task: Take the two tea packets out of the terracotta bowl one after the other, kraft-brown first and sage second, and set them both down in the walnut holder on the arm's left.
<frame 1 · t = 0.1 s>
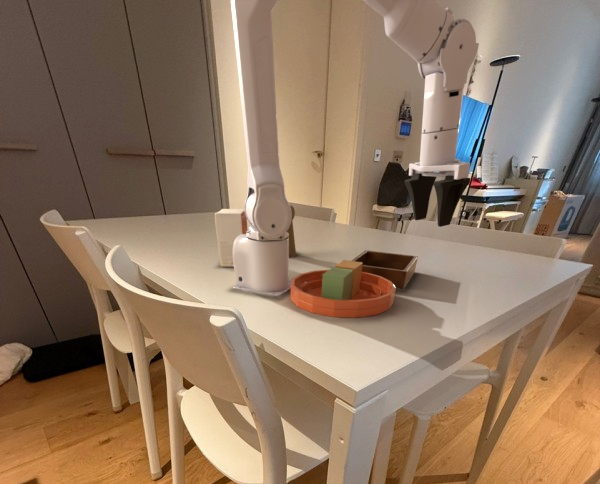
hand: (431, 222, 63), 11 cm above the table, tool pointing down, fingers open, 7 cm apart
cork: (284, 255, 85), on the table
sage packet: (335, 303, 55), resting on bowl
kraft packet: (346, 293, 59), resting on bowl
bowl: (340, 301, 58), on the table
small box: (235, 263, 77), on the table
holder: (381, 278, 69), on the table
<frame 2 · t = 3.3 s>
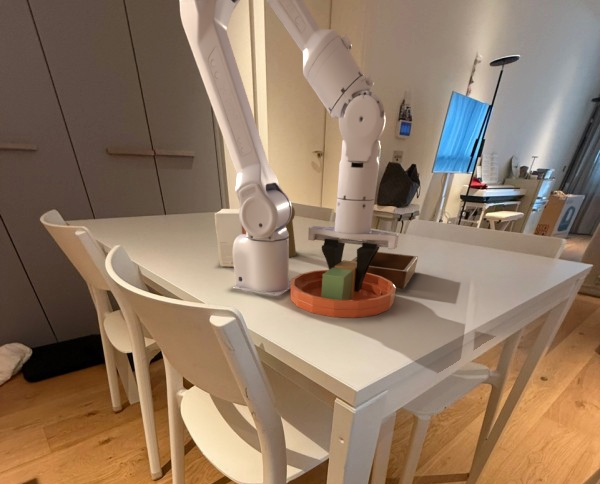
hand: (346, 288, 59), 1 cm above the table, tool pointing down, fingers closed on kraft packet, 3 cm apart
kraft packet: (346, 293, 59), resting on bowl, touching gripper
everything else where it was.
when the fingers open (1 cm above the table, at t = 7.8 s): kraft packet stays where it is, resting on holder.
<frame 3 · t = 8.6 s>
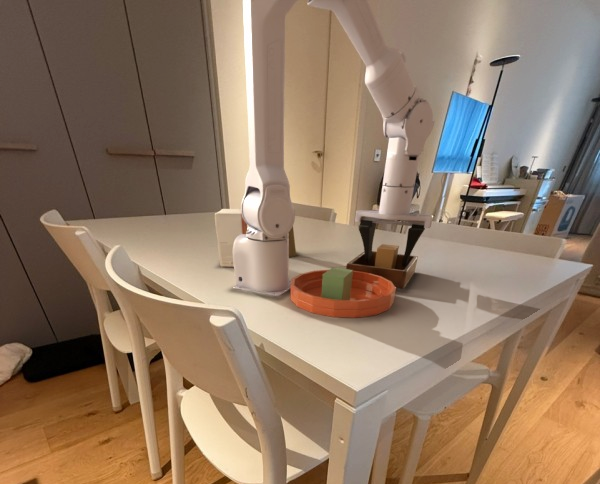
hand: (385, 263, 70), 2 cm above the table, tool pointing down, fingers open, 7 cm apart
kraft packet: (384, 272, 71), point 1 cm above the table, touching holder
everything else where it was.
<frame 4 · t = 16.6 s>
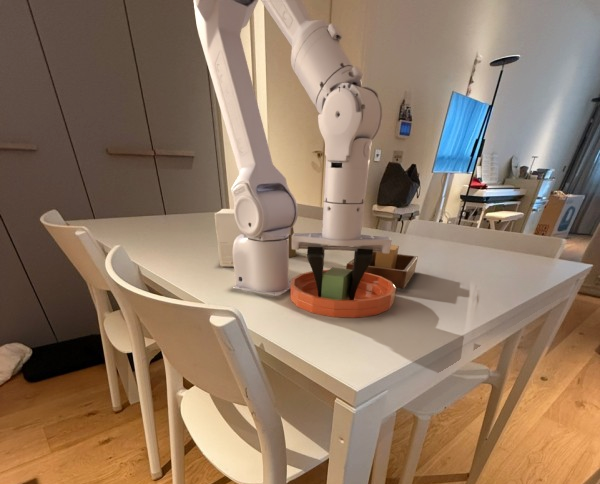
hand: (336, 297, 55), 1 cm above the table, tool pointing down, fingers closed on sage packet, 4 cm apart
sage packet: (335, 303, 55), point 1 cm above the table, touching bowl, gripper
everything else where it was.
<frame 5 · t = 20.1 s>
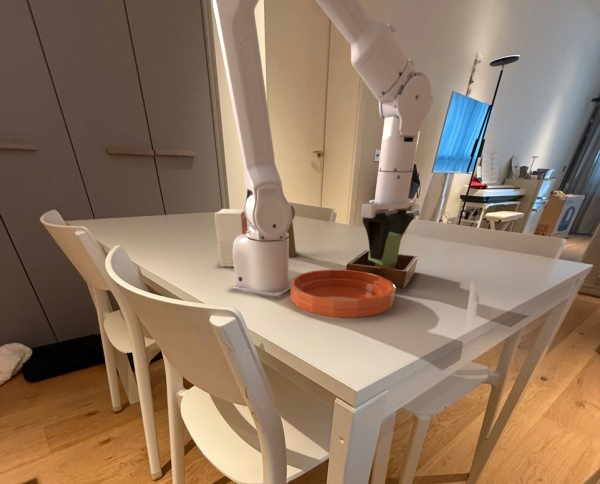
hand: (382, 256, 65), 5 cm above the table, tool pointing down, fingers closed on sage packet, 4 cm apart
sage packet: (382, 261, 65), point 4 cm above the table, touching gripper
kraft packet: (384, 272, 71), point 1 cm above the table, touching gripper, holder
everything else where it was.
when the fingers open (4 cm above the table, at t = 22.0 s): sage packet drops 2 cm, resting on holder.
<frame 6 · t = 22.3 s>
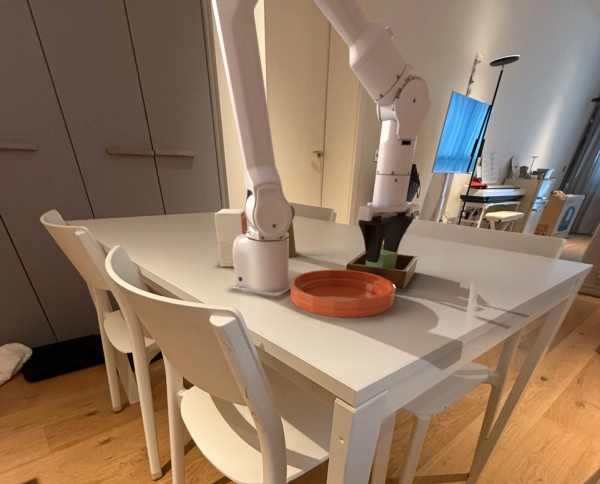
hand: (380, 259, 65), 4 cm above the table, tool pointing down, fingers open, 5 cm apart
sage packet: (378, 278, 67), point 1 cm above the table, touching holder
kraft packet: (384, 270, 71), point 1 cm above the table, tilted 8°, touching gripper, holder
everything else where it was.
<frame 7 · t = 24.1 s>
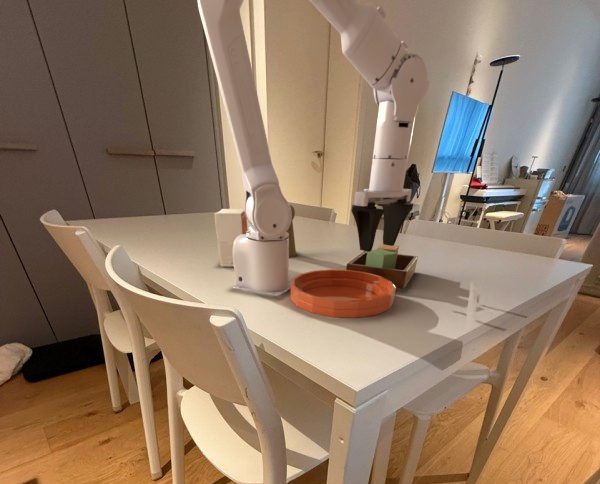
hand: (377, 247, 63), 6 cm above the table, tool pointing down, fingers open, 7 cm apart
kraft packet: (384, 272, 71), point 1 cm above the table, touching holder
everything else where it was.
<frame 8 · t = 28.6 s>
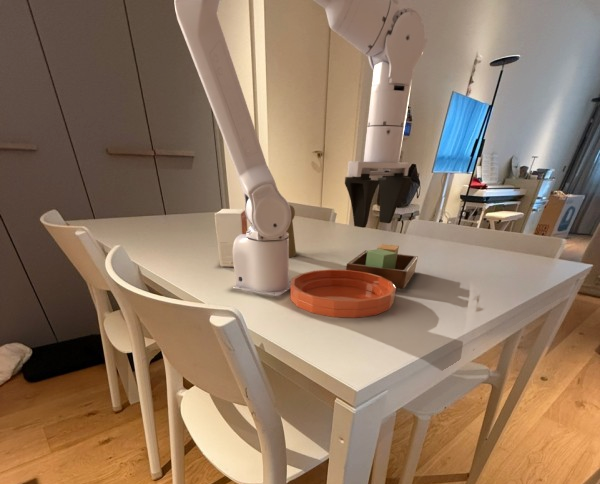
hand: (372, 224, 60), 10 cm above the table, tool pointing down, fingers open, 7 cm apart
nothing on the table moved.
at the end: kraft packet inside the target area in the holder (2.5 cm from its centre), point 0.6 cm above the holder's base; sage packet inside the target area in the holder (2.8 cm from its centre), point 0.6 cm above the holder's base; the gripper is holding nothing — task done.
